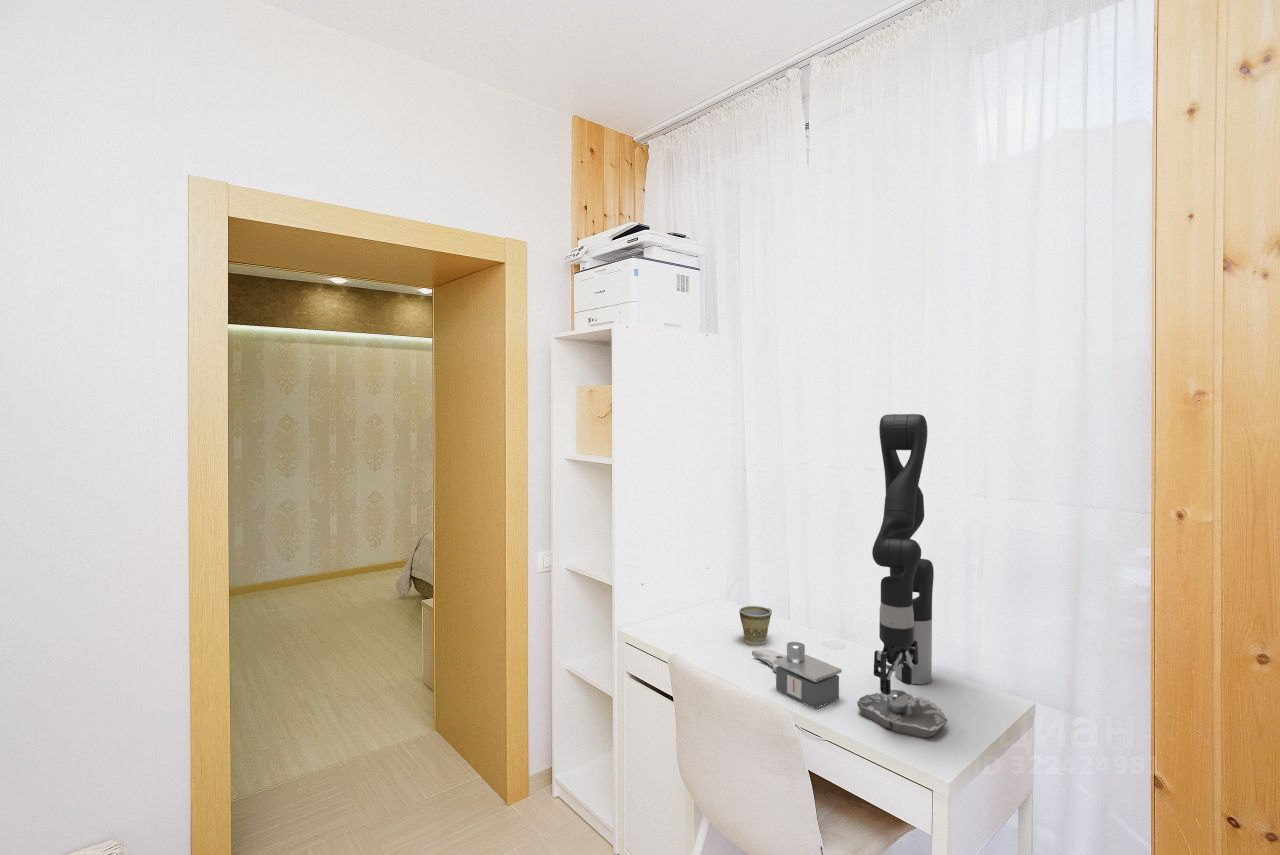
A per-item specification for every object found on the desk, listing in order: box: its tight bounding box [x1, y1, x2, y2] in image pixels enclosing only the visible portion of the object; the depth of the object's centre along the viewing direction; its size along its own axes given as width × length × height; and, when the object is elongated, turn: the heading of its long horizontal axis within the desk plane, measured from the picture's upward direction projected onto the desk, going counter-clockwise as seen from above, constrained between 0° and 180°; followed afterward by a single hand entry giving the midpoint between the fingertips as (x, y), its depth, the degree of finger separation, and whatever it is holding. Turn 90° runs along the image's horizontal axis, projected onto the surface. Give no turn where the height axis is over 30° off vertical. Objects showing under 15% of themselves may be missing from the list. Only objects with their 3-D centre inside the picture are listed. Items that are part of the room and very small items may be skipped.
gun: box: [751, 646, 787, 673], centre depth 181 cm, size 18×3×10 cm
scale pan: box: [774, 654, 843, 682], centre depth 163 cm, size 14×10×1 cm
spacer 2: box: [887, 689, 908, 715], centre depth 149 cm, size 5×5×4 cm
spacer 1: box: [786, 641, 806, 663], centre depth 166 cm, size 5×5×4 cm
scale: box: [775, 666, 840, 709], centre depth 163 cm, size 13×10×6 cm
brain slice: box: [857, 692, 948, 739], centre depth 150 cm, size 20×17×3 cm
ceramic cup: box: [738, 605, 773, 646], centre depth 201 cm, size 13×10×10 cm
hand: (896, 688), depth 149 cm, fingers open, 8 cm apart
